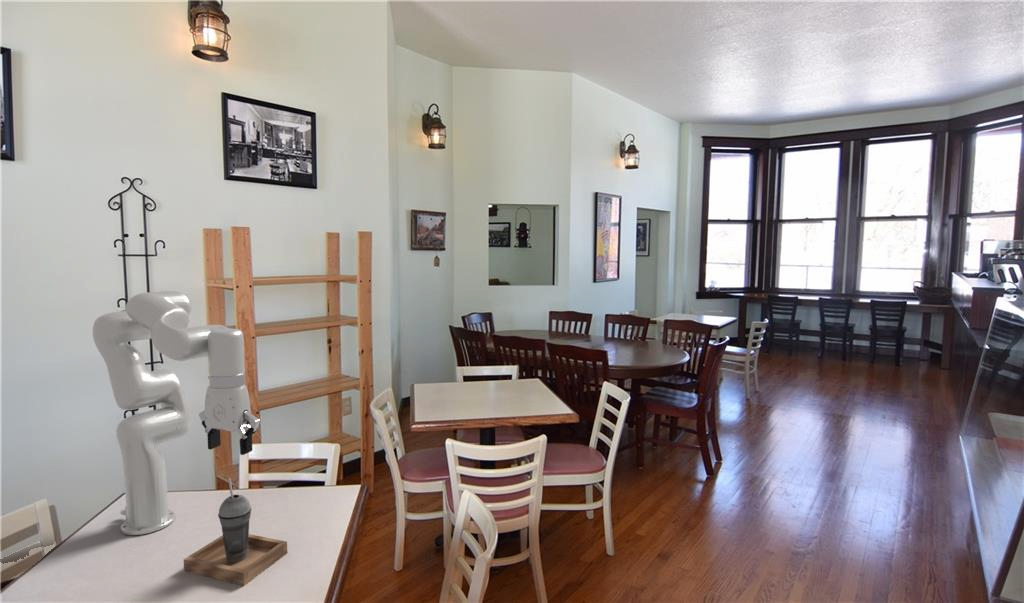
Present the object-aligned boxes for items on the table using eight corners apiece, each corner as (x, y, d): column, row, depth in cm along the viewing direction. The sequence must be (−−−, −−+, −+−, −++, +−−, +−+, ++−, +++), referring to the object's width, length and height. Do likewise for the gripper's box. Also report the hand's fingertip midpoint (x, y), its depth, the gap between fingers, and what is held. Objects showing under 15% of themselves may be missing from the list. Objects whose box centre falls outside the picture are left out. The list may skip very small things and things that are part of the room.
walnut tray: (184, 571, 129) (183, 559, 129) (231, 541, 142) (230, 530, 142) (244, 585, 124) (243, 573, 123) (287, 552, 137) (286, 541, 136)
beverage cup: (239, 567, 129) (236, 485, 127) (213, 563, 130) (209, 483, 129) (259, 551, 136) (256, 473, 134) (234, 548, 137) (231, 471, 136)
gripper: (185, 381, 128) (189, 451, 129) (244, 388, 122) (247, 461, 124) (212, 374, 135) (214, 440, 137) (268, 380, 129) (270, 449, 131)
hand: (230, 450), depth 130 cm, fingers open, 9 cm apart
